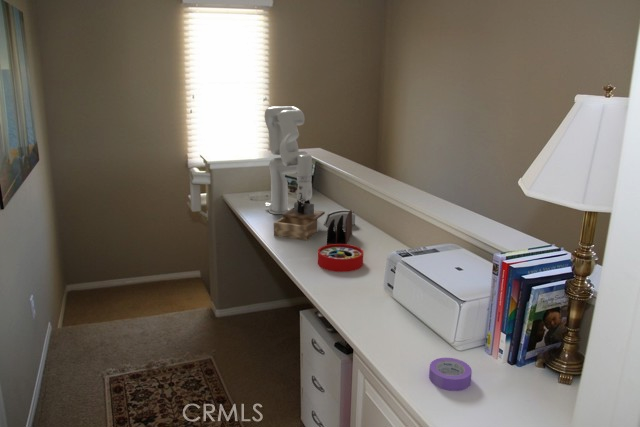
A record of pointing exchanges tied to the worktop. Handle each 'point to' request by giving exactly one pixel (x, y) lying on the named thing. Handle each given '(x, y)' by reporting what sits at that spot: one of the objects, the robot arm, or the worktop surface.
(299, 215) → the lid
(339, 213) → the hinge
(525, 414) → the worktop surface
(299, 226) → the wooden box
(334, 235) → the letter holder
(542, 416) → the worktop surface
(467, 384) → the masking tape
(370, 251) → the worktop surface
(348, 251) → the toy clock
